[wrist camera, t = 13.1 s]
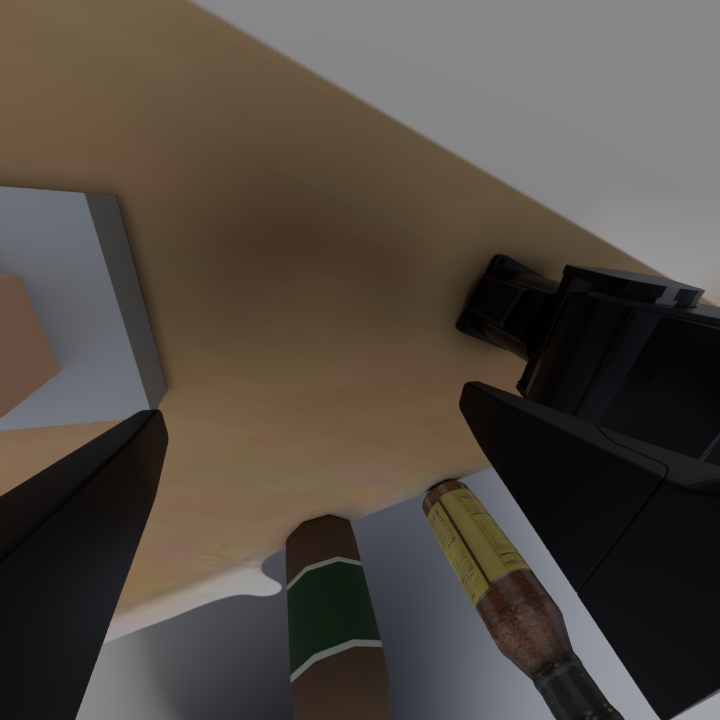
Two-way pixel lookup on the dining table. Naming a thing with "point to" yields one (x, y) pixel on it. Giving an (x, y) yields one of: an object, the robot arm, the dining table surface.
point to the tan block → (21, 346)
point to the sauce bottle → (513, 603)
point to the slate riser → (80, 307)
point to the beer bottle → (332, 627)
